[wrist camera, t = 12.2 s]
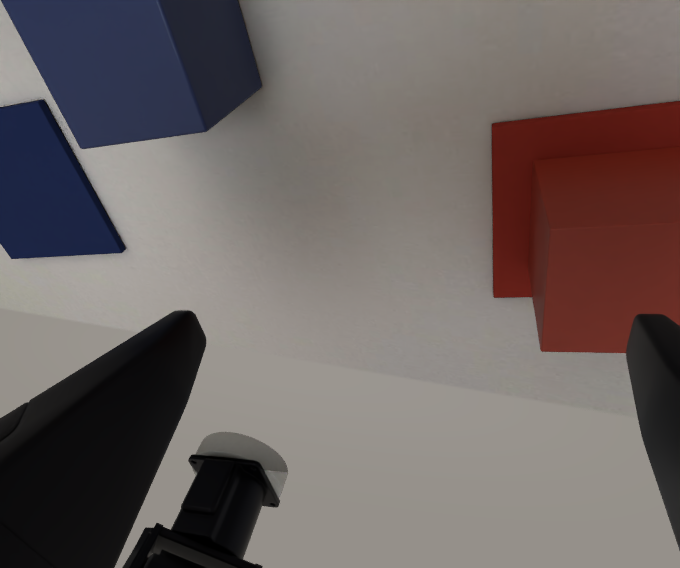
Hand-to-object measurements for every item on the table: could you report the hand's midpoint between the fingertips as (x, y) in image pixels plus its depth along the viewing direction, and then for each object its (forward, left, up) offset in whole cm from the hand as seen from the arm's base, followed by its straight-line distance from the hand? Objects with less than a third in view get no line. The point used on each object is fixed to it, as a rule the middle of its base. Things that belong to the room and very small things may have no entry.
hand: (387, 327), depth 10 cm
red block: (-4, -6, -10) cm, 13 cm away
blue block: (+5, +9, -11) cm, 15 cm away
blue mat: (0, +21, -11) cm, 23 cm away
